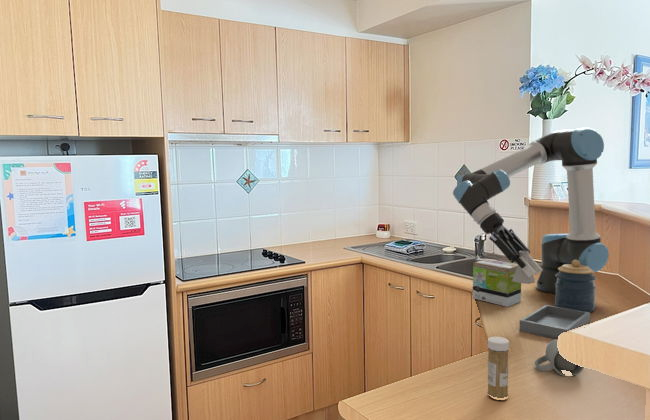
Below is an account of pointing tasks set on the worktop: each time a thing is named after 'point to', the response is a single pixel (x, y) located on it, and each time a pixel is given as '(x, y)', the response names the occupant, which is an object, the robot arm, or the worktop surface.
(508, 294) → the tea box
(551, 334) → the charcoal tray
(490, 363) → the sprinkles bottle
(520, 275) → the flask
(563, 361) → the ceramic mug
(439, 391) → the worktop surface
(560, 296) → the canister
